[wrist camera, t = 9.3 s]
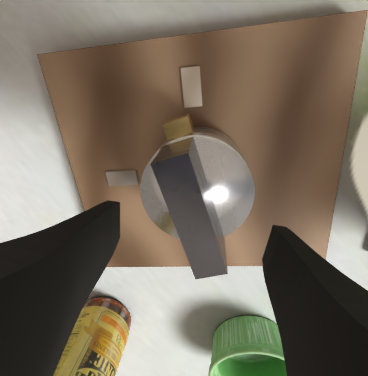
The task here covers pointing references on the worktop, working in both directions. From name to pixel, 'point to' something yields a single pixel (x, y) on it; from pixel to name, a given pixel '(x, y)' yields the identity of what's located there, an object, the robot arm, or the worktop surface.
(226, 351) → the ramekin
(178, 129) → the silver rounded piece
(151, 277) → the worktop surface
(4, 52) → the worktop surface
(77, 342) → the sauce bottle
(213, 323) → the worktop surface
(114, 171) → the baseplate
